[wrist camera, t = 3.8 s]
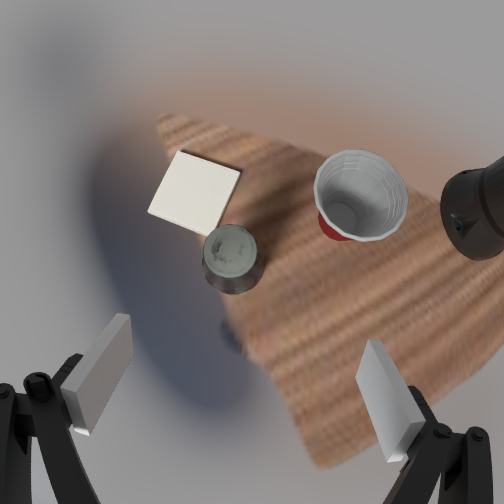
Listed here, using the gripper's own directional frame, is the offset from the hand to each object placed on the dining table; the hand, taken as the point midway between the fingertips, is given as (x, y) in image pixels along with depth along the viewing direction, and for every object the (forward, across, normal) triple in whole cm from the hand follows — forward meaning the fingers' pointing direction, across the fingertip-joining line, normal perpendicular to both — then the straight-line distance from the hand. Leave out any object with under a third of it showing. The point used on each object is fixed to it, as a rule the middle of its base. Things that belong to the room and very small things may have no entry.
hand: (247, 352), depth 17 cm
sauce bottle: (+26, -2, -6) cm, 27 cm away
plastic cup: (+29, +11, +2) cm, 32 cm away
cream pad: (+31, -9, +4) cm, 32 cm away
